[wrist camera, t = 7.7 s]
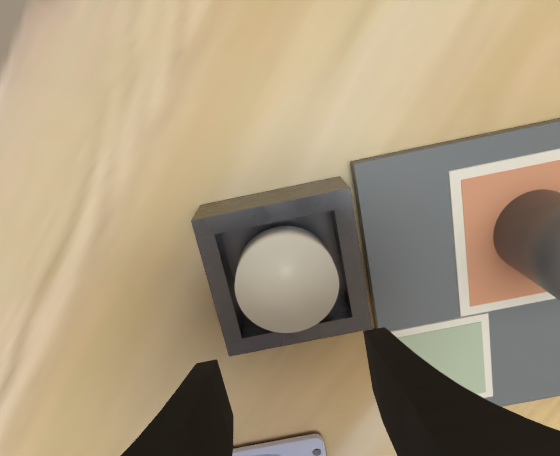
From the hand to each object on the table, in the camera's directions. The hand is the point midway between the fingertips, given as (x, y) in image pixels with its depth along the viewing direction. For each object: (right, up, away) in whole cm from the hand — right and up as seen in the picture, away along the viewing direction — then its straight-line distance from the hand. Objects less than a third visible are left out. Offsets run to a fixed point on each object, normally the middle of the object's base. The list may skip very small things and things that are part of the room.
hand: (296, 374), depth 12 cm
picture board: (+11, +2, +10) cm, 15 cm away
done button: (0, +2, +7) cm, 7 cm away
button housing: (0, +3, +9) cm, 9 cm away
